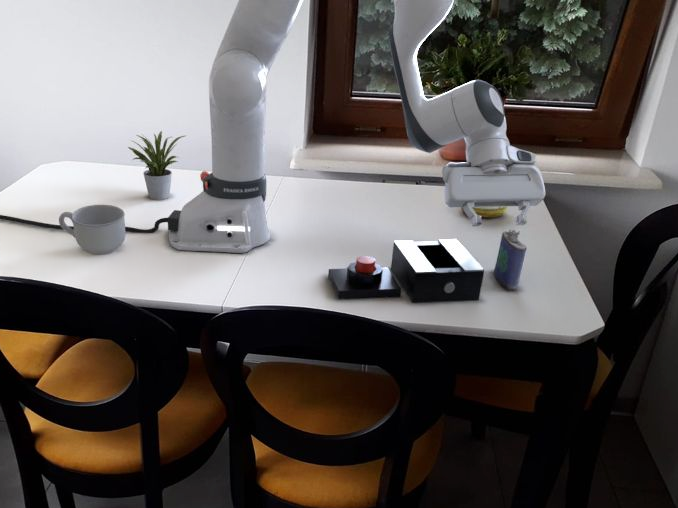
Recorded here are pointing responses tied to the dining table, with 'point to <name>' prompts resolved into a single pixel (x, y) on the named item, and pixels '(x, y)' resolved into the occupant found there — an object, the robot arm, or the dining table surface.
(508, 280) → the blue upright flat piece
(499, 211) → the decorated donut
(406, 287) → the glossy black box
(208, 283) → the dining table surface
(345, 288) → the control block
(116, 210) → the teacup
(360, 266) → the stop button
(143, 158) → the house plant
